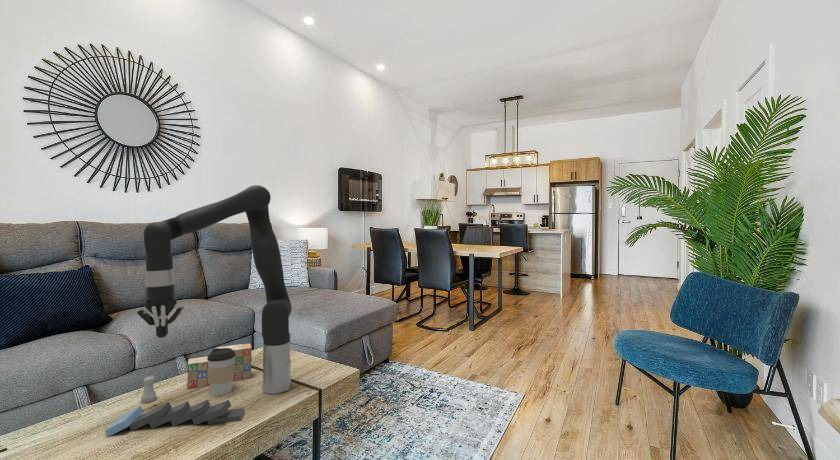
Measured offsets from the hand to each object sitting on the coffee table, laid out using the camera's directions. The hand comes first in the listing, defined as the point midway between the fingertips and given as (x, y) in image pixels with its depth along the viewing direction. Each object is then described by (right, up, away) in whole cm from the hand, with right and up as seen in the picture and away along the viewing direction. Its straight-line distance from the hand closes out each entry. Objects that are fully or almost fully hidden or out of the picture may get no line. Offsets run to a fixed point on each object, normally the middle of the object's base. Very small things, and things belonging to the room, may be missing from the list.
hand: (162, 337), depth 116 cm
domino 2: (+4, -23, -8) cm, 25 cm away
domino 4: (+16, -23, -6) cm, 28 cm away
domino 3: (+9, -23, -7) cm, 26 cm away
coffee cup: (+12, -24, +14) cm, 30 cm away
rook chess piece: (-9, -24, +6) cm, 26 cm away
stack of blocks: (+6, -24, +23) cm, 34 cm away
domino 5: (+19, -24, -5) cm, 31 cm away
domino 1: (-1, -23, -10) cm, 25 cm away
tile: (-5, -22, -6) cm, 23 cm away
